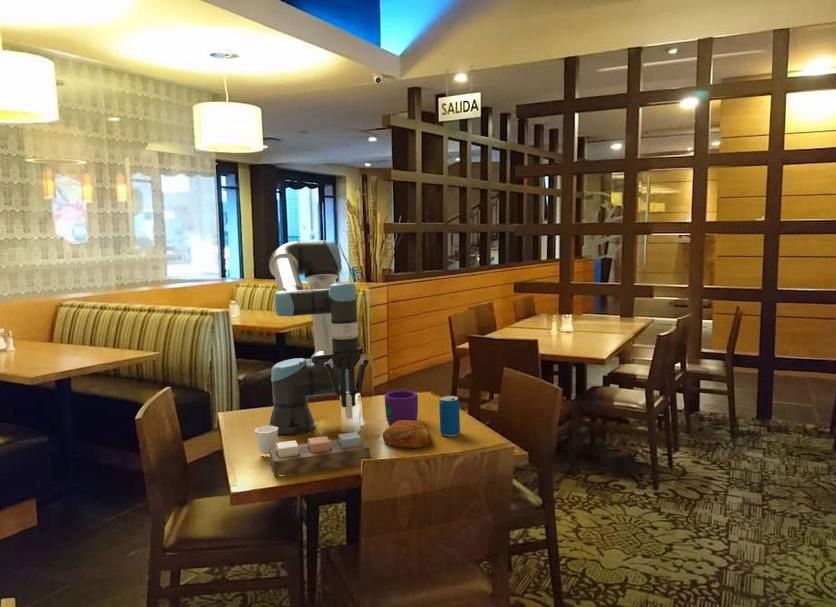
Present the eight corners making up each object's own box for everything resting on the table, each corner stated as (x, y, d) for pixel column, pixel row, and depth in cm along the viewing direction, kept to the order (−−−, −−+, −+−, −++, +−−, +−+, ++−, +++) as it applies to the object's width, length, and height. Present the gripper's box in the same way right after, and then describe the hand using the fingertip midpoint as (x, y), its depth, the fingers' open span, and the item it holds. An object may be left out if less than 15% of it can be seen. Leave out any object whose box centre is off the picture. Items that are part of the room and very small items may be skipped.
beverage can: (458, 437, 201) (457, 401, 200) (438, 437, 203) (437, 400, 201) (461, 431, 208) (460, 395, 206) (441, 430, 209) (440, 395, 208)
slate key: (343, 454, 182) (342, 439, 182) (339, 448, 187) (338, 434, 187) (361, 452, 184) (360, 437, 183) (357, 446, 189) (356, 431, 189)
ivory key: (279, 464, 176) (278, 448, 176) (277, 457, 182) (276, 442, 181) (299, 461, 178) (298, 446, 178) (296, 455, 183) (295, 440, 183)
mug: (424, 424, 217) (423, 395, 216) (393, 429, 212) (392, 400, 211) (403, 411, 233) (402, 385, 231) (374, 416, 228) (373, 389, 227)
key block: (274, 477, 174) (273, 461, 173) (270, 463, 184) (269, 448, 183) (370, 462, 182) (369, 447, 182) (361, 450, 193) (360, 436, 192)
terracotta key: (311, 459, 179) (311, 444, 179) (308, 453, 184) (307, 438, 184) (330, 456, 181) (330, 441, 181) (327, 450, 186) (326, 436, 186)
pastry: (418, 459, 190) (420, 434, 188) (375, 445, 197) (376, 421, 196) (440, 443, 202) (443, 420, 201) (399, 430, 210) (401, 407, 208)
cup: (258, 460, 187) (256, 434, 186) (252, 450, 196) (251, 425, 195) (282, 456, 189) (280, 430, 189) (275, 446, 199) (274, 421, 198)
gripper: (324, 340, 176) (329, 423, 178) (370, 336, 180) (374, 417, 183) (320, 337, 183) (324, 417, 186) (363, 333, 187) (367, 411, 190)
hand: (348, 417), depth 184 cm, fingers closed
